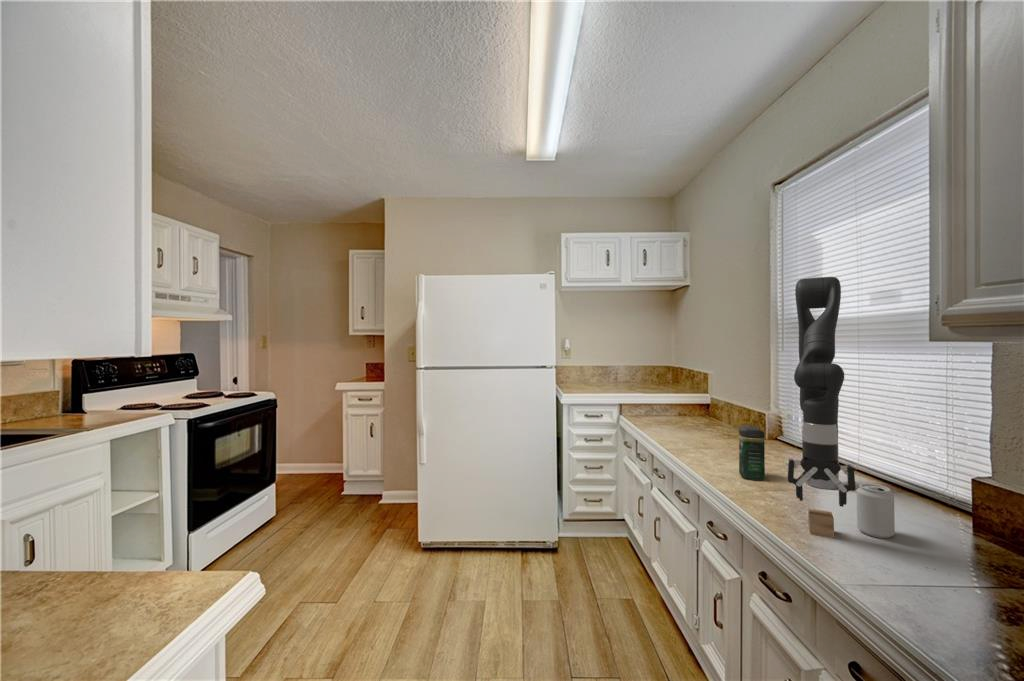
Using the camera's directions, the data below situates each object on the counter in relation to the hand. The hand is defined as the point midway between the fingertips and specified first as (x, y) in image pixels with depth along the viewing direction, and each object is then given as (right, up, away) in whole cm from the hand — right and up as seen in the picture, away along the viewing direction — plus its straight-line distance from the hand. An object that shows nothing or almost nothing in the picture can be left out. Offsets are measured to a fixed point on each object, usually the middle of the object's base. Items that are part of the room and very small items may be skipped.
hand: (820, 502), depth 113 cm
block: (0, -8, 0) cm, 8 cm away
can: (+14, -8, -1) cm, 16 cm away
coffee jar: (+7, -8, +46) cm, 47 cm away
